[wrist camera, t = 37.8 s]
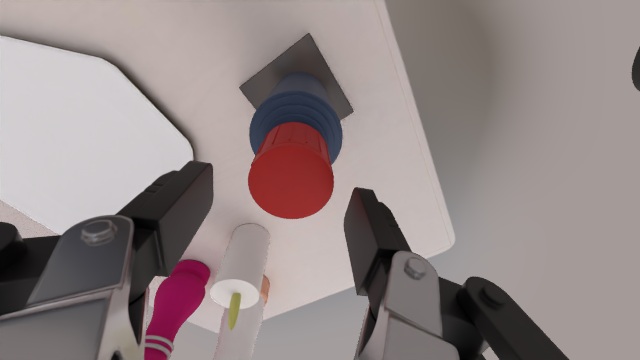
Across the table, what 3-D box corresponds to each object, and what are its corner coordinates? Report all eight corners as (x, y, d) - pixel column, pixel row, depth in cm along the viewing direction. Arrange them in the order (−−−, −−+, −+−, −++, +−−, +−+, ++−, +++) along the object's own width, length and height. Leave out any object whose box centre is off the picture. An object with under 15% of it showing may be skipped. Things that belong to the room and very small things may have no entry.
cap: (288, 192, 15) (284, 231, 12) (247, 146, 13) (228, 176, 10) (340, 161, 14) (350, 194, 11) (302, 106, 12) (300, 126, 9)
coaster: (309, 33, 25) (309, 32, 25) (353, 110, 30) (353, 111, 29) (240, 87, 28) (238, 87, 27) (290, 151, 32) (289, 153, 31)
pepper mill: (168, 278, 43) (75, 432, 26) (175, 252, 40) (75, 408, 23) (207, 287, 45) (145, 437, 28) (217, 264, 42) (154, 416, 25)
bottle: (307, 59, 26) (310, 78, 9) (336, 108, 29) (379, 192, 12) (263, 92, 27) (193, 162, 10) (295, 135, 30) (280, 245, 13)
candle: (224, 228, 38) (182, 322, 25) (262, 220, 38) (238, 310, 24) (240, 254, 41) (209, 350, 28) (275, 246, 41) (260, 340, 28)
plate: (117, 260, 40) (111, 267, 39) (-90, 131, 28) (-109, 135, 27) (238, 185, 34) (236, 190, 33) (41, -22, 22) (24, -26, 21)
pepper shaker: (272, 293, 47) (253, 428, 30) (236, 296, 47) (197, 433, 30) (266, 269, 43) (240, 407, 27) (227, 273, 43) (177, 412, 27)
